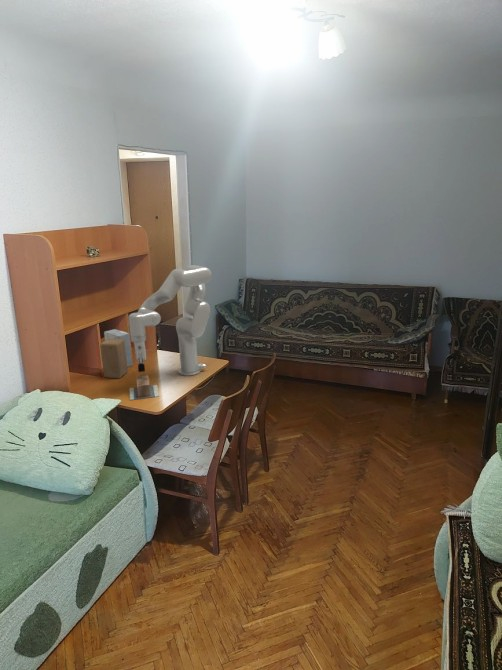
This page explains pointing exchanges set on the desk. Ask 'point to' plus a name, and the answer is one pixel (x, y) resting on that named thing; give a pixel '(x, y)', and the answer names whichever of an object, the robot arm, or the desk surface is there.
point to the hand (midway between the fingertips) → (141, 371)
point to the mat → (135, 396)
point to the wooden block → (114, 358)
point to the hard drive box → (123, 335)
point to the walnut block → (143, 386)
